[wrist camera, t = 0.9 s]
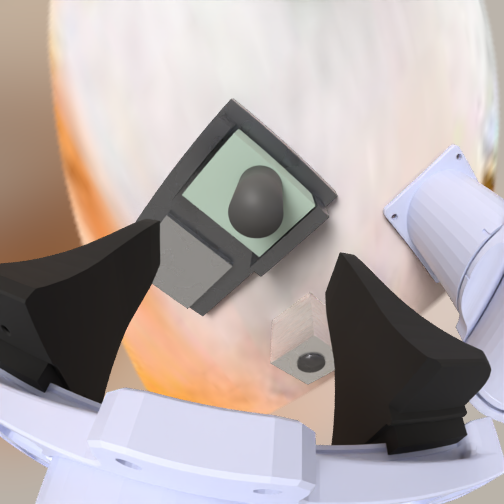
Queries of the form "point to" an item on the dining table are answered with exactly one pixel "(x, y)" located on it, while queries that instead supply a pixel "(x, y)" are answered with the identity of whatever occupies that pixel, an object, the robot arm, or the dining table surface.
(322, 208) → the press
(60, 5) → the dining table surface
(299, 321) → the block
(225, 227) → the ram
